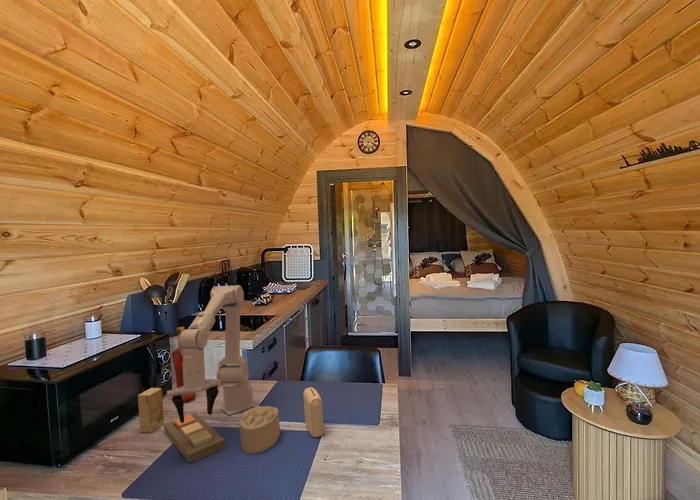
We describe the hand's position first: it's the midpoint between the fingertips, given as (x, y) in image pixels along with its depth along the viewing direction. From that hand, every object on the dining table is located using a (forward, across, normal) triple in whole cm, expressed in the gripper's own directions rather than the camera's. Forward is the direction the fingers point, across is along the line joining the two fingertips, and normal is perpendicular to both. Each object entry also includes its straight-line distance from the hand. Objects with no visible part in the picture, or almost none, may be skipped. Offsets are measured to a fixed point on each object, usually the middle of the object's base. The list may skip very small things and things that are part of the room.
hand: (196, 417), depth 107 cm
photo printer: (+9, +31, -14) cm, 35 cm away
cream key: (+7, +1, +7) cm, 10 cm away
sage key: (+8, +1, 0) cm, 8 cm away
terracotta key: (+7, 0, +14) cm, 15 cm away
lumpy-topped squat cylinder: (+9, +16, -8) cm, 20 cm away
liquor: (+7, +6, +39) cm, 40 cm away
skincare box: (+9, -8, +24) cm, 27 cm away
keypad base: (+9, +1, +7) cm, 11 cm away
